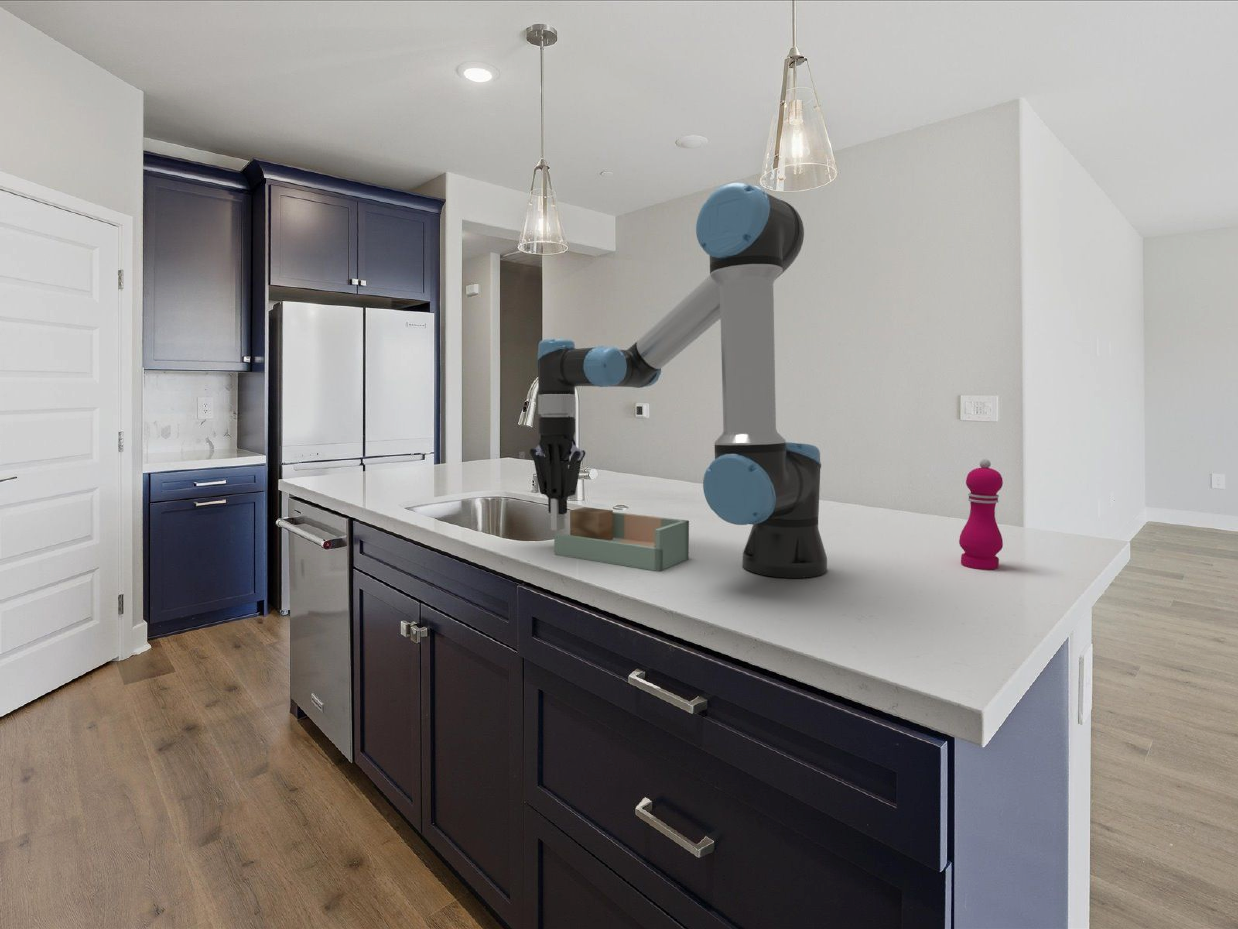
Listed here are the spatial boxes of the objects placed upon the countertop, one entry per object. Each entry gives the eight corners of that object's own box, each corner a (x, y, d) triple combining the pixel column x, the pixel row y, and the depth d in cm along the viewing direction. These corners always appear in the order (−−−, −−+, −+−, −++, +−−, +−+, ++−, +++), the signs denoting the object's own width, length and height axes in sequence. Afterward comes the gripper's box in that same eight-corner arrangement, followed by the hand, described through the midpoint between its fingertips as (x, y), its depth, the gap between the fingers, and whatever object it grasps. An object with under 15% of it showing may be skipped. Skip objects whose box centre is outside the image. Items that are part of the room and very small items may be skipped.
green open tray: (688, 558, 132) (688, 520, 132) (659, 571, 123) (659, 530, 122) (587, 543, 145) (587, 509, 145) (554, 554, 136) (554, 517, 135)
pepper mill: (1007, 571, 123) (1014, 461, 121) (964, 569, 125) (970, 460, 123) (993, 561, 130) (1000, 457, 128) (953, 560, 132) (958, 457, 130)
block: (612, 539, 138) (612, 510, 137) (598, 544, 134) (598, 513, 133) (584, 535, 142) (584, 507, 141) (570, 540, 137) (570, 510, 137)
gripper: (593, 415, 139) (593, 529, 142) (543, 415, 146) (544, 523, 149) (571, 416, 133) (572, 535, 136) (520, 415, 140) (522, 528, 143)
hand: (557, 529), depth 142 cm, fingers closed
